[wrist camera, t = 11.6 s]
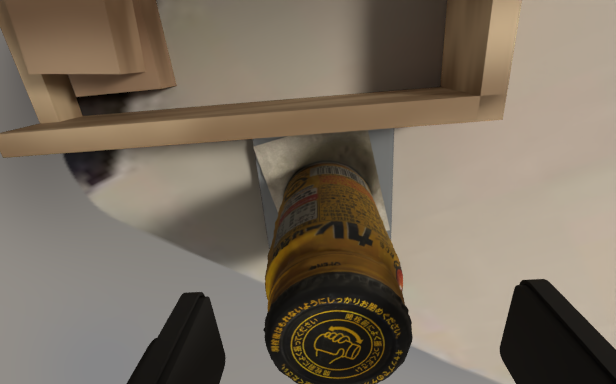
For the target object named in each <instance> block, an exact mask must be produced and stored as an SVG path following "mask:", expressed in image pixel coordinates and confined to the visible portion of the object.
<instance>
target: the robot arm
mask: <svg viewBox="0 0 616 384" xmlns="http://www.w3.org/2000/svg"><path fill="white" fill-rule="evenodd" d="M500 354H501V358H502V360H503V362H504V364H505V365H506V367H507V369H508V371H509V372H510V374H511V376H512V377H513V379H514V381H515V383H516V384H616V350H615V349H614V348H613V346H612V345H611V344H610V343H609V342H608V341H607V340H606V339H605V338H604V337H603V336H602V335H601V334H600V333H599V332H598V331H597V330H596V329H595V328H594V327H593V326H592V325H591V324H590V323H589V322H588V321H587V320H586V319H585V318H584V317H583V316H582V315H581V314H580V313H579V312H578V311H577V310H576V309H575V308H574V307H573V306H572V305H571V304H570V303H569V302H568V301H567V299H566V298H565V297H564V296H563V295H562V294H561V293H560V292H559V291H558V290H557V289H556V288H555V287H554V286H553V285H552V284H551V283H550V282H549V281H547V280H545V279H536V280H522V281H521V282H520V285H517V286H516V287H515V289H514V293H513V297H512V301H511V305H510V309H509V313H508V317H507V321H506V325H505V329H504V333H503V337H502V341H501V345H500ZM224 366H225V352H224V349H223V345H222V341H221V338H220V334H219V331H218V327H217V323H216V319H215V316H214V312H213V309H212V305H211V302H210V298H209V297H205V296H204V294H203V293H202V292H192V293H183V294H182V295H181V297H180V298H179V300H178V302H177V304H176V306H175V308H174V309H173V311H172V313H171V315H170V316H169V318H168V320H167V322H166V323H165V325H164V327H163V329H162V331H161V332H160V334H159V336H158V338H155V339H154V340H153V341H152V342H151V343H150V345H149V346H148V348H147V349H146V351H145V353H144V355H143V356H142V358H141V360H140V361H139V363H138V365H137V367H136V369H135V370H134V372H133V374H132V375H131V377H130V379H129V381H128V383H127V384H219V383H220V380H221V376H222V373H223V370H224Z"/></svg>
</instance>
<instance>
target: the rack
mask: <svg viewBox="0 0 616 384" xmlns="http://www.w3.org/2000/svg"><path fill="white" fill-rule="evenodd" d="M521 3H522V0H447V11H446V24H445V36H444V48H443V60H442V73H441V85H440V87H433V88H421V89H409V90H396V91H384V92H372V93H360V94H348V95H335V96H323V97H311V98H299V99H286V100H274V101H262V102H250V103H237V104H225V105H213V106H201V107H188V108H176V109H164V110H152V111H139V112H127V113H115V114H103V115H90V116H82V113H81V110H80V107H79V104H78V102H77V99H76V96H75V93H74V90H73V88H72V85H71V82H70V79H69V76H68V74H29V72H28V69H27V66H26V63H25V60H24V57H23V54H22V51H21V48H20V45H19V42H18V39H17V36H16V33H15V30H14V27H13V24H12V21H11V18H10V15H9V12H8V9H7V6H6V3H5V0H0V28H1V30H2V33H3V35H4V37H5V39H6V42H7V45H8V47H9V49H10V52H11V54H12V57H13V59H14V61H15V64H16V66H17V69H18V71H19V74H20V76H21V78H22V81H23V83H24V86H25V88H26V91H27V93H28V95H29V98H30V100H31V103H32V105H33V108H34V110H35V112H36V115H37V117H38V120H39V122H40V124H36V125H32V126H27V127H24V128H19V129H15V130H11V131H6V132H2V133H0V152H1V154H2V156H3V158H6V157H20V156H33V155H46V154H59V153H73V152H86V151H99V150H112V149H125V148H138V147H151V146H164V145H177V144H190V143H203V142H217V141H230V140H243V139H256V138H269V137H282V136H295V135H308V134H321V133H334V132H347V131H360V130H374V129H387V128H400V127H413V126H426V125H439V124H452V123H465V122H478V121H491V120H503V114H504V108H505V102H506V96H507V89H508V83H509V77H510V71H511V65H512V58H513V52H514V46H515V40H516V34H517V28H518V21H519V15H520V9H521Z"/></svg>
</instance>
